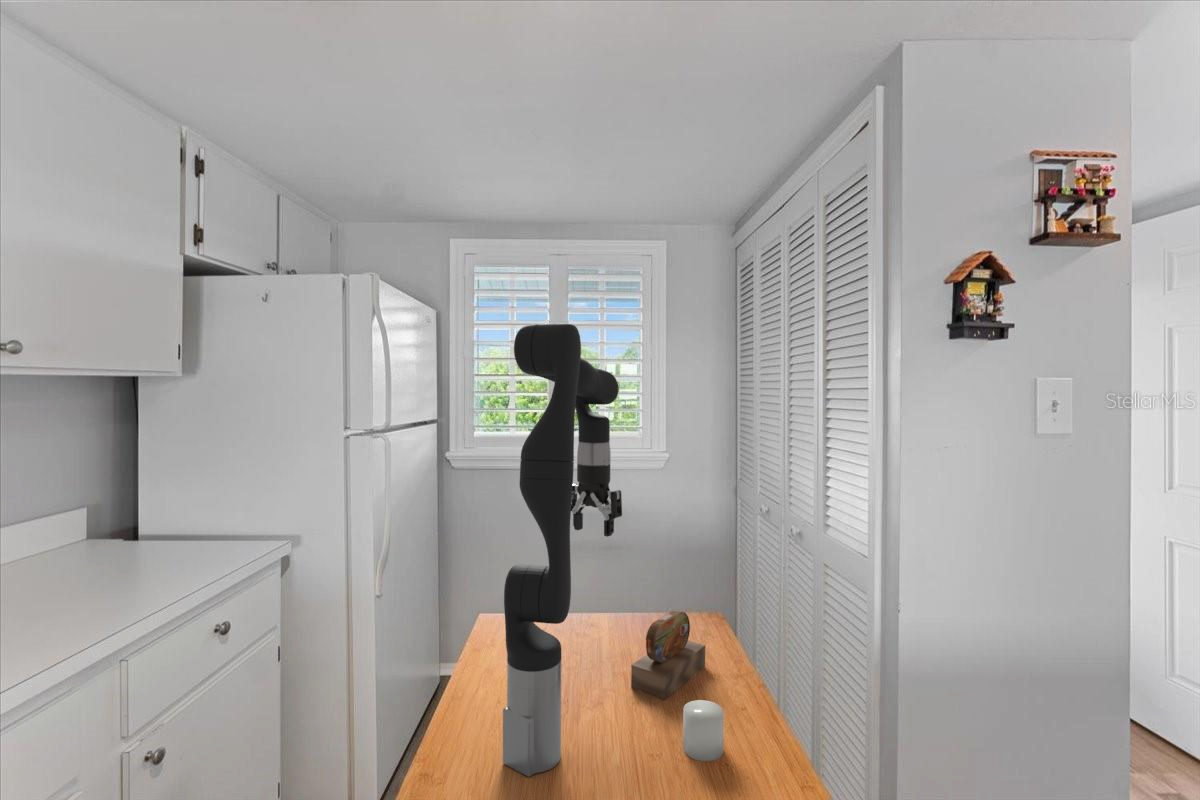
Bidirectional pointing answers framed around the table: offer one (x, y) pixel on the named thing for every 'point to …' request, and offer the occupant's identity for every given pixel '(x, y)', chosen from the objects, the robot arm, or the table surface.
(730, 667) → the table surface
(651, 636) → the tin
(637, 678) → the brown rectangular block
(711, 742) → the white rounded capsule
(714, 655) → the table surface
